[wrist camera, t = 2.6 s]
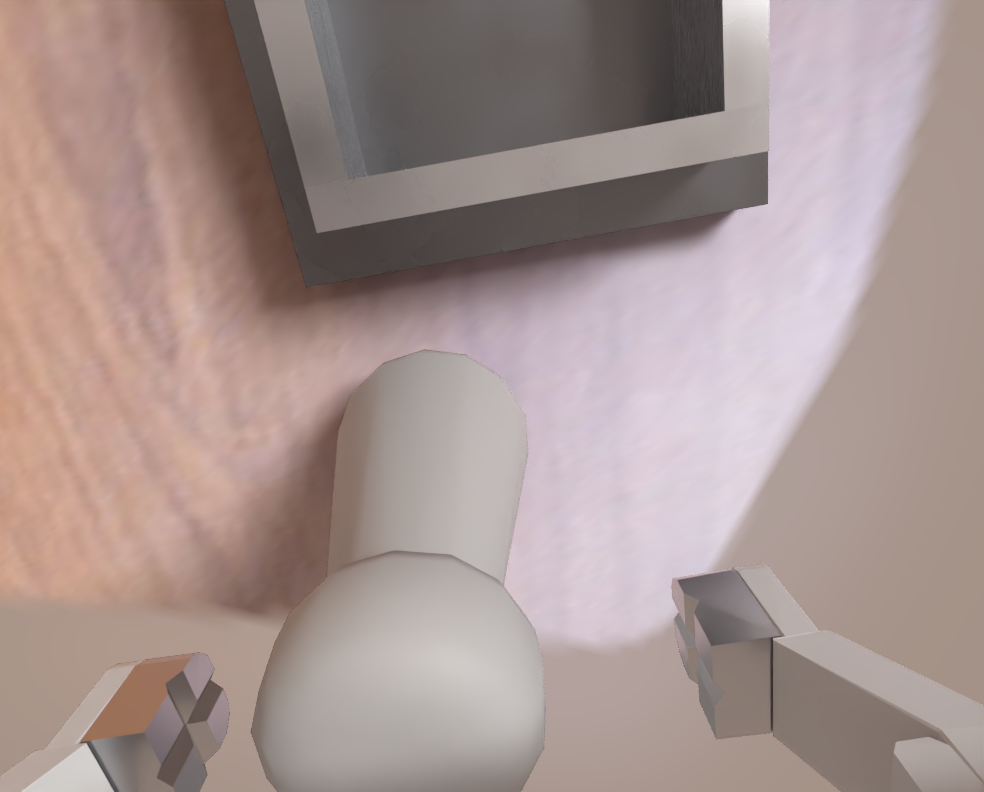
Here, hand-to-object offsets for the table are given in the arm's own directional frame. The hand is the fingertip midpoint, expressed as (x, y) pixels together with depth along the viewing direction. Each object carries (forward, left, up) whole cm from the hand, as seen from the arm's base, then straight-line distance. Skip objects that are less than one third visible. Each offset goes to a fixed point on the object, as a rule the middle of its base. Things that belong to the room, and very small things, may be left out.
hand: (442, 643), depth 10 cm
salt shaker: (-1, 0, -11) cm, 11 cm away
